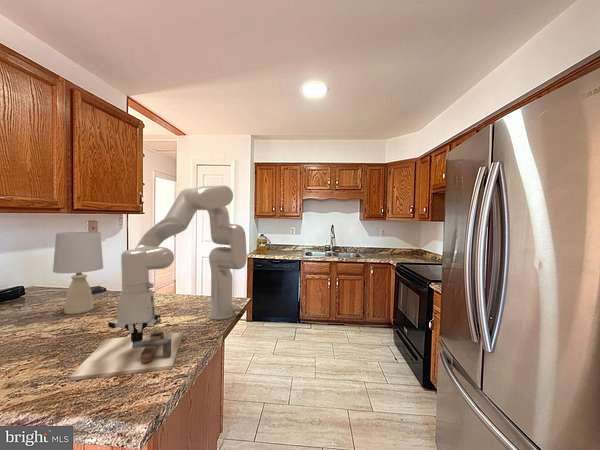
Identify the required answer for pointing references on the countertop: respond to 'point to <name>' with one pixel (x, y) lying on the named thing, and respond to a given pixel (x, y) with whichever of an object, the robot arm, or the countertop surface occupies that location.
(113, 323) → the toy gun
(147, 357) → the walnut link
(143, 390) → the countertop surface
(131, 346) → the hinge board
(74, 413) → the countertop surface
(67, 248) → the lamp
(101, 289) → the disk drive
